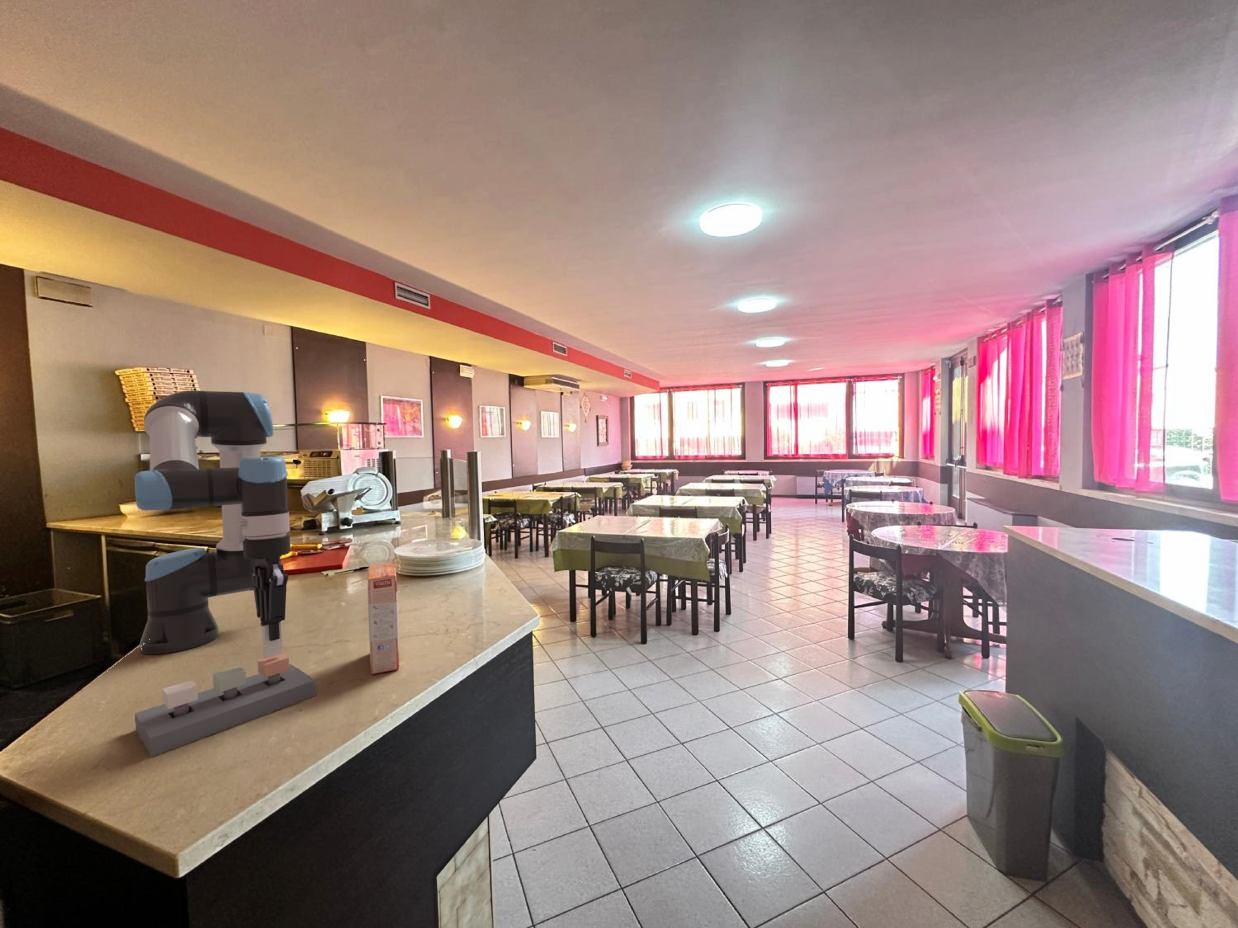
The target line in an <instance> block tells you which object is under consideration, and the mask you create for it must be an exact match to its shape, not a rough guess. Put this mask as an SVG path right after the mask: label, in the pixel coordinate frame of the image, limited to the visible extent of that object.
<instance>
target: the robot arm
mask: <svg viewBox="0 0 1238 928" xmlns="http://www.w3.org/2000/svg"><path fill="white" fill-rule="evenodd" d="M143 429H144V431H145V432H146V434H147V435H148V436H149V470H144V471H143V470H142V471H140V472H137V473H136V474H135V476H134V493H135V494H134V495H135V503H136V507H137V508H138V509H139V510H141V511H143V512H144V511H146V512H148V511H164V512H165V511H169V510H170V511H171V510H179V509H180V510H181V509H193V508H203V507H218V506H221V516H222V517H221V518H222V521H221V522H222V536H223V537H222V539H221V540H220V541H219V542H218V543H216V545H215V550H216V551H214V552H213V551H212V552H207V550H206V549H205V548H204V547H196V548H190V549H189V548H188V549H184V550H183V549H182V550H178V551H174V552H170V553H166V554H162V555H160V556H157V557H154V558H152V559H151V560H149V561H148V562H147V563H146V565H145V578H144V582H146V600H147V602H146V603H147V622H146V624H145V627H144V630H143V633H142V635H141V638H140V642H139V650H140V649H141V648H142V650H141V651H140V653H141V654H143V655H162V654H170V653H175V652H180V651H185V650H189V649H192V648H196V647H199V646H203V645H206V644H208V643H210V642H213V641H214V640H215V639H217V638H218V637H219V635H220V633H219V631H220V630H219V625H218V623H217V620H216V619H215V617H214V615H213V614H212V611H211V609H210V607H209V598H213V597H219V596H226V595H231V594H236V593H242V592H251V591H253V592H254V601H255V608H256V609H255V610H256V616H257V619H258V618H259V619H260V626H261V633H262V653H263V658H270V657H273V656H276V655H280V654H283V642H282V624H281V623H282V621H285V620H286V603H287V585H288V580H289V574H288V573H284V572H285V571H284V565H283V563H282V561H281V557H283V556H286V555H288V554H289V553H291V536H290V535H289V534H287V533H289V532H290V531H291V527H290V524H291V523H290V512H289V508H288V507H289V502H288V501H289V500H288V481H287V480H288V479H287V477H288V475H289V474H288V471H287V466H286V465H287V464H286V459H284V457H281V456H262V457H261V449H262V448H263V447H265V446H266V445H267V444H268V443H267V438H271V437H273V436H274V424H273V418H272V413H271V409H270V405H269V402H268V400H267V397H265V396H264V395H262V394H260V393H254V392H247V391H246V392H245V391H217V390H216V391H213V390H211V391H210V390H196V389H194V390H190V389H189V390H182V391H178V392H174V393H171V394H169V395H167V396H164V397H162V398H160V399H159V400H157V401H155V402H154V403H153V404H152V405H150V407H149V408H148V409H147V411H146V413H145V415H144V418H143ZM197 437H199V438H200V437H201V438H210V441H211V442H210V443H211V445H212V446H213V447H214V448H216V449H217V451H219V468H217V467H216V468H212V467H211V468H200V466H199V458H198V457H199V456H198V450H197V444H196V443H197V442H196V438H197ZM149 639H150V640H149ZM143 643H145V644H144V645H143ZM141 645H142V647H141V648H140V646H141Z"/></svg>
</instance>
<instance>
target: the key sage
mask: <svg viewBox="0 0 1238 928" xmlns="http://www.w3.org/2000/svg"><path fill="white" fill-rule="evenodd" d="M246 678H247V671H246V670H245V669H244V668H242V667H241V666H240V665H237V666H234V667H230V668H226V669H224V670H221V671H216V672H213V673H212V684H213V685H212V686H213V688H216V689H217V690H218V691H219V692H223V693H224V701H226V700H229V699H232V698H235V697H237V687H238V686H241V685H244V684H246Z"/></svg>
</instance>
